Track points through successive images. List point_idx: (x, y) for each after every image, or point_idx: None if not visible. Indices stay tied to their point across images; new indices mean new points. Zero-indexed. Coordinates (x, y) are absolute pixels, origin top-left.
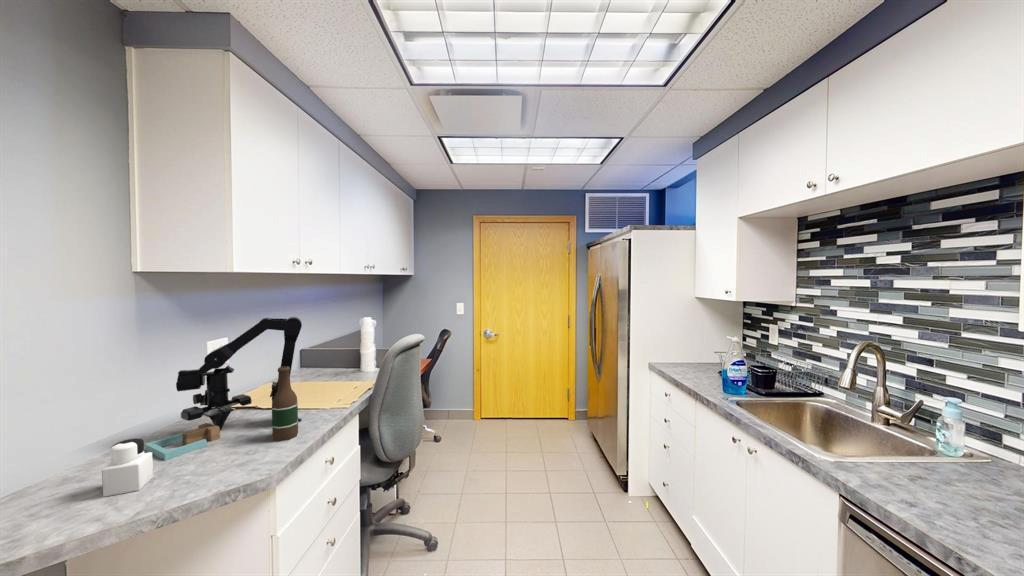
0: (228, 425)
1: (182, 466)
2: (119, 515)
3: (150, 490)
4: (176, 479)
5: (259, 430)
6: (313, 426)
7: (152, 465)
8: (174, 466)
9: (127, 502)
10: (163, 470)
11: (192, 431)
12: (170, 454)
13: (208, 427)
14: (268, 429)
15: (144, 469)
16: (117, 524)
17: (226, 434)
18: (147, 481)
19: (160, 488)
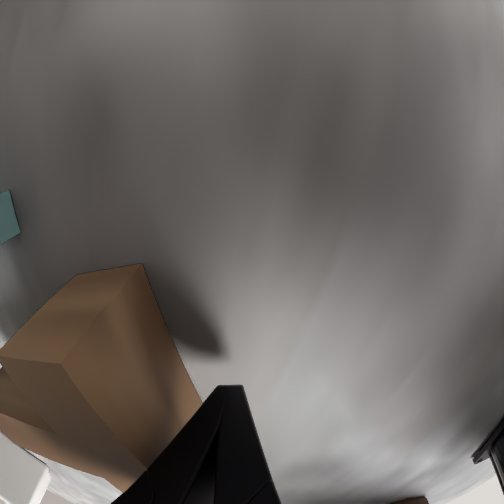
0: (424, 147)
1: (93, 482)
2: (60, 493)
3: (69, 489)
4: (100, 500)
5: (418, 453)
6: (475, 479)
7: (37, 489)
8: (72, 469)
9: (52, 484)
10: (54, 462)
11: (22, 439)
12: None
13: (118, 482)
14: (438, 458)
15: (38, 501)
16: (68, 501)
17: (280, 409)
18: (48, 475)
19: (83, 496)
